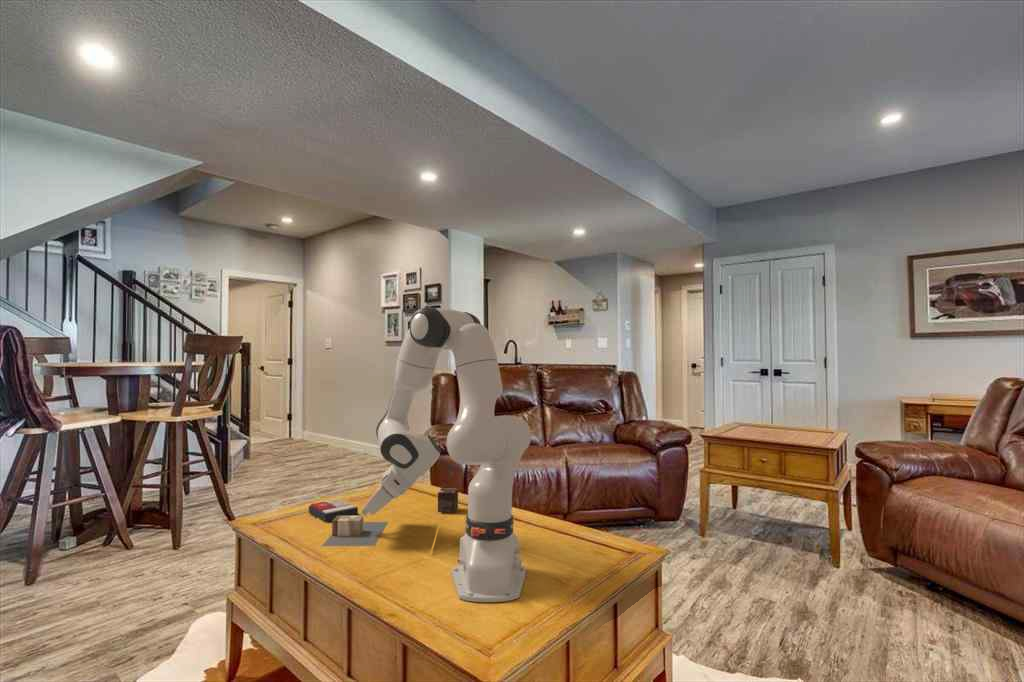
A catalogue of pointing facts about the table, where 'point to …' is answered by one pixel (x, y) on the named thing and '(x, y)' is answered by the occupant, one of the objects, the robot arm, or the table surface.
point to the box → (448, 500)
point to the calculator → (332, 510)
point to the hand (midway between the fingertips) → (363, 512)
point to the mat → (365, 539)
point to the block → (347, 526)
